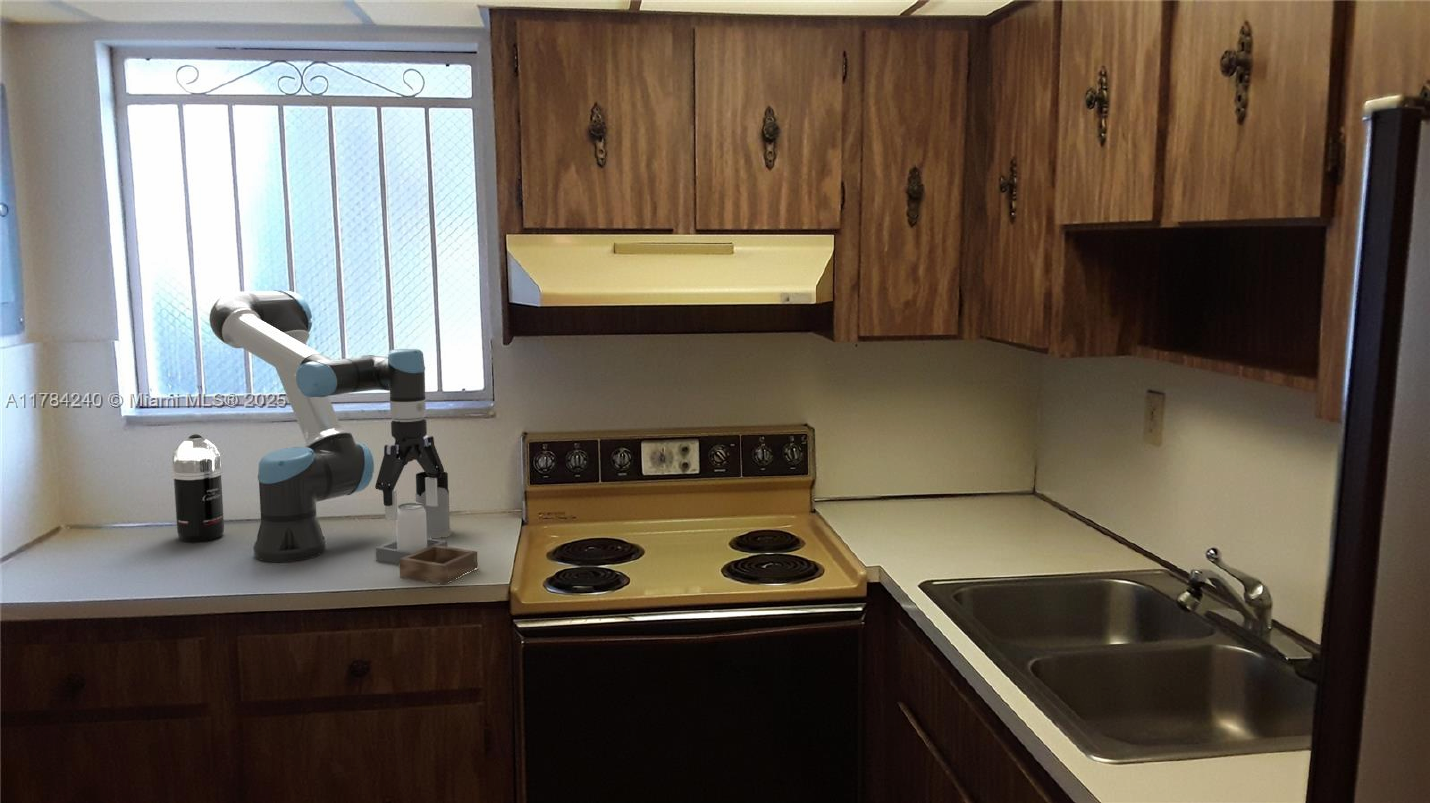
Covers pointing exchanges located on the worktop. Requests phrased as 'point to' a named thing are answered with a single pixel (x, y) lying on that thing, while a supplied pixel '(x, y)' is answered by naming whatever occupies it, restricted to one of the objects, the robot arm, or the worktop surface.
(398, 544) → the can
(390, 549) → the grey square tray
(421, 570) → the brown open square box
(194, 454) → the spray bottle
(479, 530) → the worktop surface
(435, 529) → the glass holder
